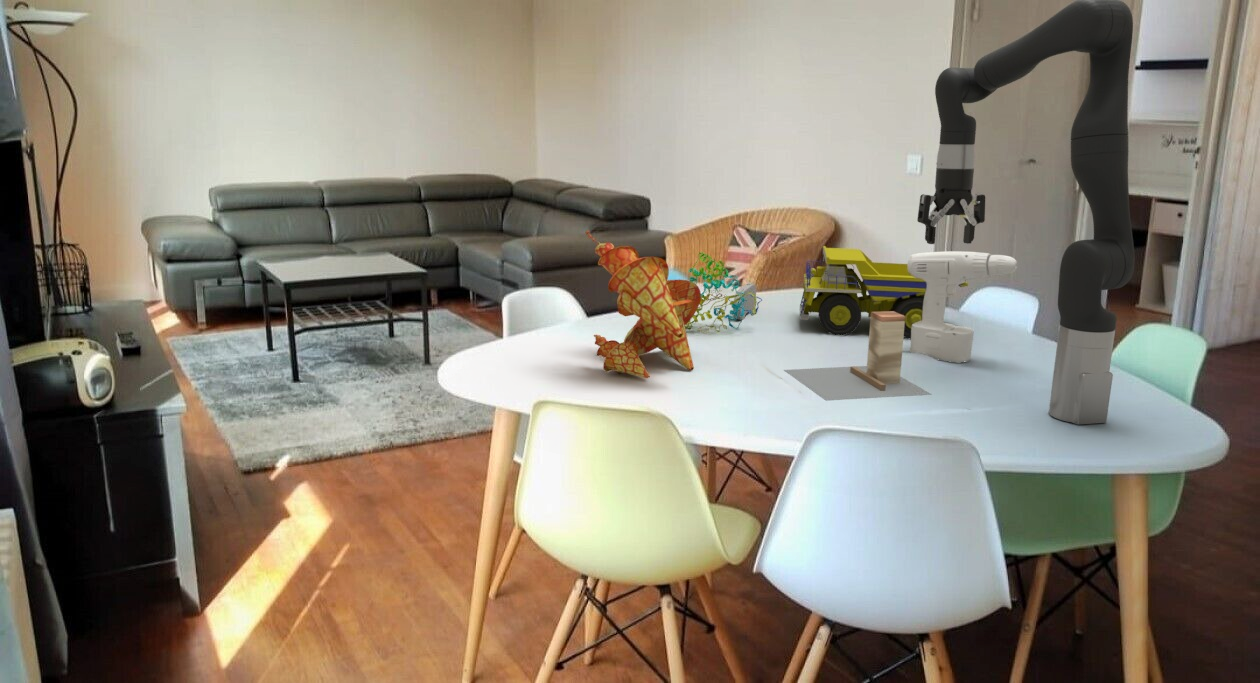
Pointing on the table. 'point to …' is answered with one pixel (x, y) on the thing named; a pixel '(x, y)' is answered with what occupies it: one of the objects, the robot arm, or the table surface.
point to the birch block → (885, 346)
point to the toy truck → (860, 291)
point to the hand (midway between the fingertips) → (949, 243)
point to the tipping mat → (851, 383)
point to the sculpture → (646, 309)
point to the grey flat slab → (750, 300)
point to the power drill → (941, 282)
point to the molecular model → (718, 285)
